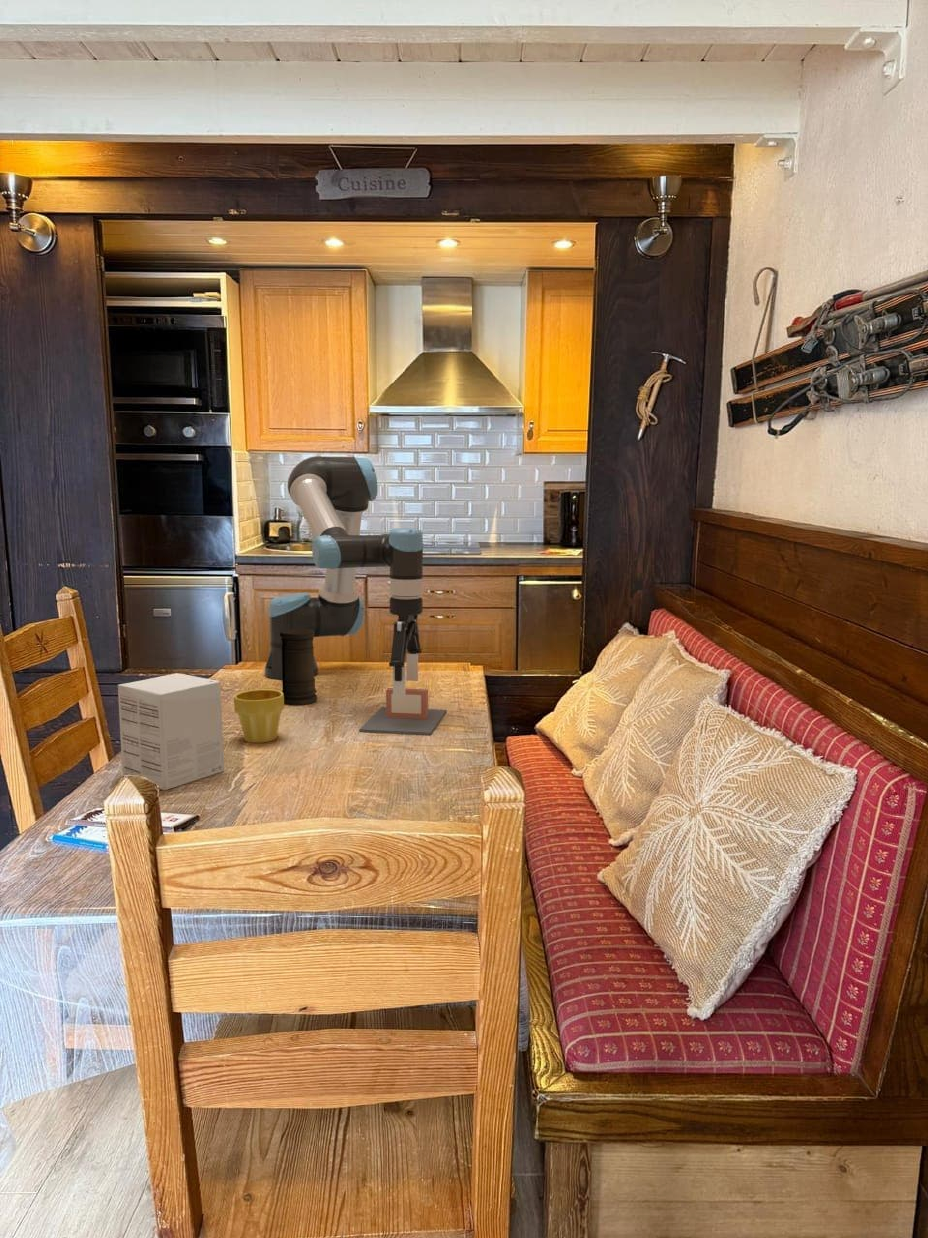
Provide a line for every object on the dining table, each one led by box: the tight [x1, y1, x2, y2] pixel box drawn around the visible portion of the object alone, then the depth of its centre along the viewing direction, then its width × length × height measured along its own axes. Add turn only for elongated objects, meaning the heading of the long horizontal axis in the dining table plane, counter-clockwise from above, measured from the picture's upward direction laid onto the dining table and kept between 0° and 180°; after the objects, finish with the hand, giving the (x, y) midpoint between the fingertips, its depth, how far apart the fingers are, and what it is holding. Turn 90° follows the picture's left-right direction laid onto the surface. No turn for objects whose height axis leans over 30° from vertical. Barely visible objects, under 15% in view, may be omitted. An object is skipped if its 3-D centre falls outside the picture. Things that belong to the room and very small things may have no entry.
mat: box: [359, 706, 448, 736], centre depth 193 cm, size 20×16×1 cm
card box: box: [385, 687, 429, 719], centre depth 194 cm, size 2×10×6 cm, turn 81°
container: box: [280, 629, 318, 706], centre depth 210 cm, size 9×9×18 cm
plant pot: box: [233, 688, 285, 744], centre depth 178 cm, size 10×10×10 cm
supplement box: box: [117, 672, 225, 791], centre depth 154 cm, size 13×13×18 cm
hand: (405, 687), depth 194 cm, fingers open, 13 cm apart
